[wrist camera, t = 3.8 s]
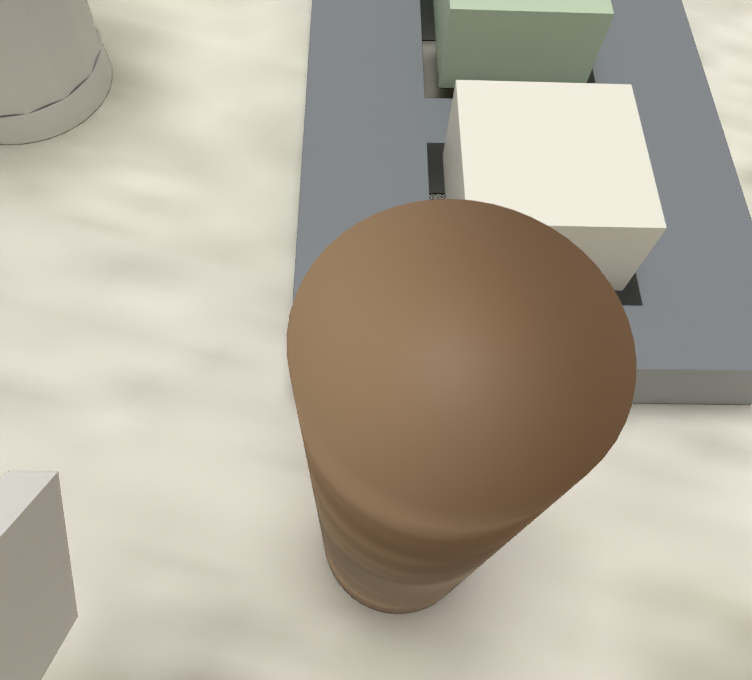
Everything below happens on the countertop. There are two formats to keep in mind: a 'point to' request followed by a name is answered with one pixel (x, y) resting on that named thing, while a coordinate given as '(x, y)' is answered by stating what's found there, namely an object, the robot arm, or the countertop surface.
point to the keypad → (612, 66)
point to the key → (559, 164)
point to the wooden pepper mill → (450, 389)
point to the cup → (49, 68)
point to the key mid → (519, 39)
